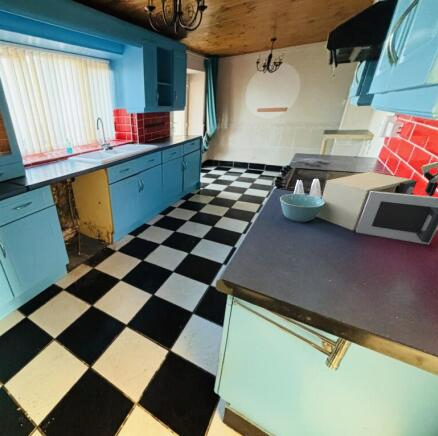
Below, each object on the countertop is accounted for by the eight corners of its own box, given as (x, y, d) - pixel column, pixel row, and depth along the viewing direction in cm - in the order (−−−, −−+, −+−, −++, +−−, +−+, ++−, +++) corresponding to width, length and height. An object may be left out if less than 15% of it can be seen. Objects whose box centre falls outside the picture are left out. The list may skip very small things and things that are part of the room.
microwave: (403, 219, 94) (420, 180, 87) (359, 233, 86) (375, 191, 80) (357, 206, 108) (369, 171, 101) (316, 216, 101) (326, 180, 94)
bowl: (274, 221, 99) (277, 202, 95) (279, 208, 111) (282, 191, 107) (319, 229, 91) (325, 209, 87) (319, 214, 102) (324, 196, 99)
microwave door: (435, 252, 73) (460, 206, 67) (358, 238, 83) (373, 196, 76) (427, 242, 79) (450, 198, 72) (355, 230, 88) (370, 190, 82)
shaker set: (320, 200, 117) (326, 178, 113) (320, 202, 114) (327, 180, 109) (292, 197, 123) (296, 176, 118) (292, 199, 120) (296, 178, 115)
